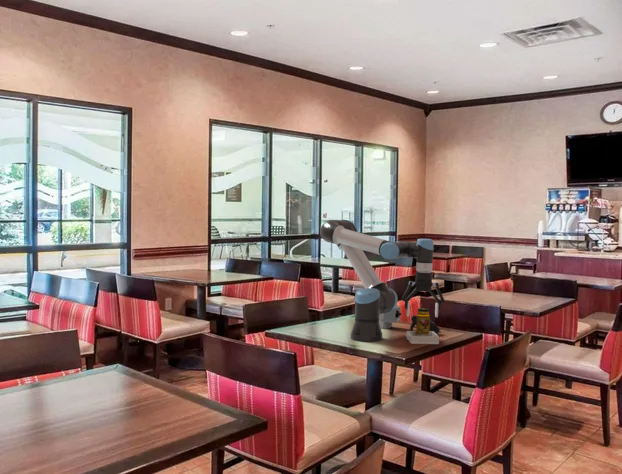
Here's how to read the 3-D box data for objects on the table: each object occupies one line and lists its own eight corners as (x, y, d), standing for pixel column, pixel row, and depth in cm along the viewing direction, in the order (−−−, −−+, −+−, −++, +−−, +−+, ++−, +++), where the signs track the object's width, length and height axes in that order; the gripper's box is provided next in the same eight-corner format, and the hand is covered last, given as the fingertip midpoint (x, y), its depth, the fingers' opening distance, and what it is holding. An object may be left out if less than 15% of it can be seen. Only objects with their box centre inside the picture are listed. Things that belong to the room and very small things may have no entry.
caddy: (410, 343, 271) (411, 336, 271) (406, 338, 283) (406, 330, 283) (438, 344, 272) (439, 336, 271) (433, 338, 284) (433, 331, 283)
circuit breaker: (396, 330, 302) (397, 301, 302) (371, 327, 310) (372, 298, 309) (402, 328, 309) (403, 299, 308) (377, 324, 316) (378, 297, 316)
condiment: (424, 336, 272) (425, 310, 271) (409, 333, 278) (410, 308, 277) (433, 334, 277) (433, 308, 277) (417, 331, 283) (418, 306, 282)
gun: (434, 345, 293) (443, 328, 293) (405, 330, 293) (415, 313, 293) (433, 344, 296) (442, 327, 296) (404, 329, 296) (414, 312, 296)
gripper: (399, 271, 272) (396, 317, 273) (452, 273, 273) (450, 318, 274) (396, 269, 280) (394, 314, 281) (448, 271, 280) (446, 315, 281)
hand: (422, 316), depth 277 cm, fingers open, 13 cm apart
